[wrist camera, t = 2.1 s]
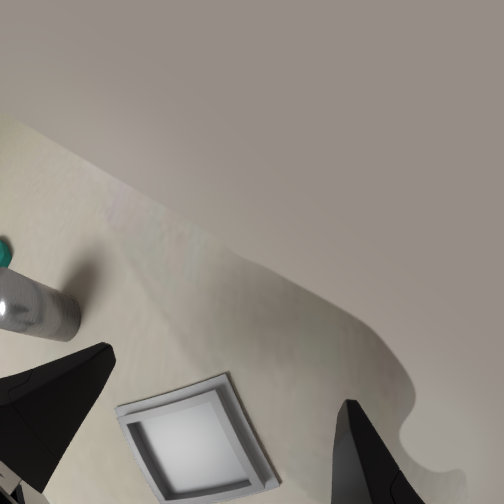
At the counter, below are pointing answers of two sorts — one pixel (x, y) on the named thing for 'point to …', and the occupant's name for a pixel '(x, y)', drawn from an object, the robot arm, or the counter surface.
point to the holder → (196, 445)
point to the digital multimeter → (4, 255)
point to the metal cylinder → (36, 308)
